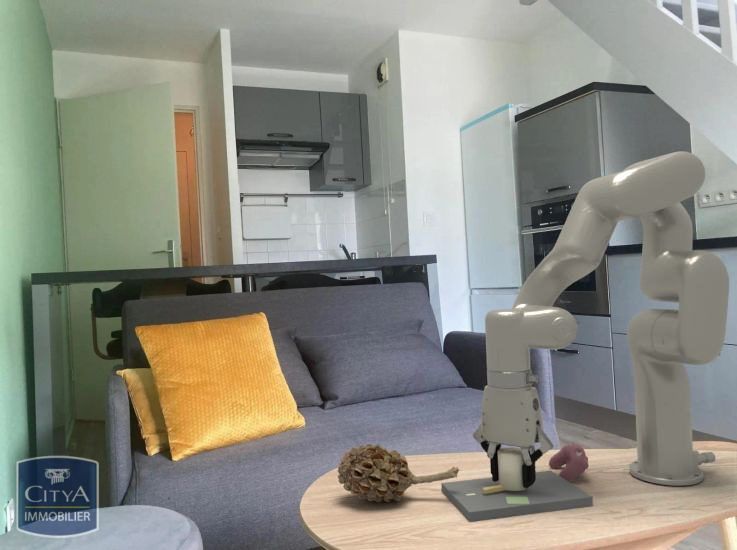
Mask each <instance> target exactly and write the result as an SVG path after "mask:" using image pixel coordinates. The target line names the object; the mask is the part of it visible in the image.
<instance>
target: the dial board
mask: <svg viewBox="0 0 737 550" xmlns="http://www.w3.org/2000/svg"><path fill="white" fill-rule="evenodd" d="M535 472H536V480H535V482H534V484H533V485H531V486H530V487H528V488H527V489H525V490H521V491H510V490H504V491H499V492H493V493H488V494H484V493H483V492H482V488H485V487H490V486H496V485H499V480H498V481H496V482H494V481H493V480H492V477H483V478H482V477H481V478H474V479H463V480H457V481H447V482H441V483H440V485H441V493H442V494H444V496H446V498H447V499H448V500H449V501H450V502H451V504H452V505H454V506H455V508H456V509H457V510H458V512H459V513H461V514H462V515H463V516H464V517H465V519H466V520H467V521H468V522H478V521H484V520H493V519H501V518H508V517H509V518H510V517H516V516H524V515H530V514H539V513H547V512H548V513H549V512H555V511H563V510H569V509H570V510H571V509H579V508H586V507H593V506H594V497H593V495H591V494H589V493H588V492H586V491H584V490H582V489H581V488H580V487H577V485H575V484H573V483H572V482H568V481H567V480H565V479H564V478H562V477H560V476H559V474H557V473H555V472H554V471H552V470H545V471H544V470H543V471H535Z"/></svg>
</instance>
